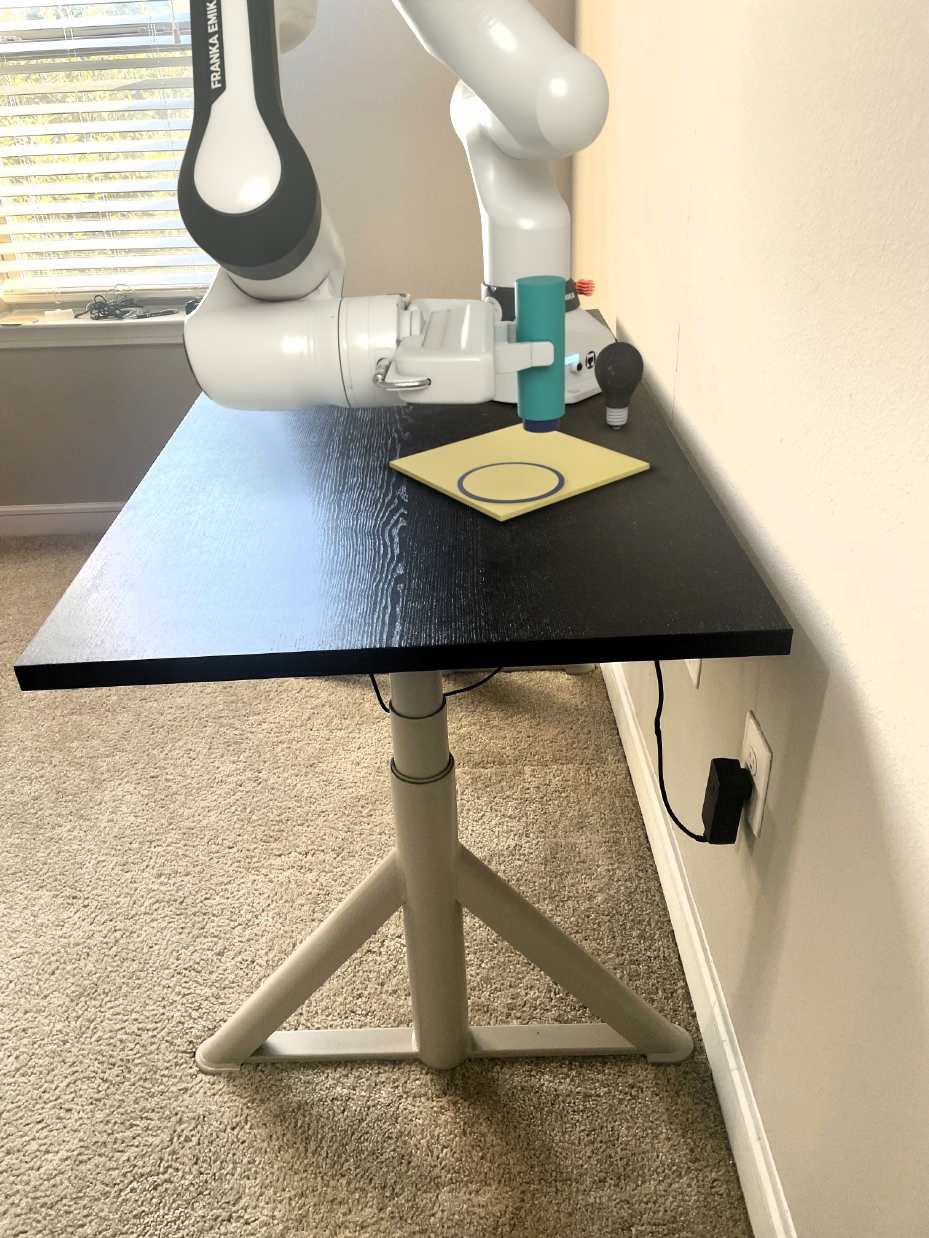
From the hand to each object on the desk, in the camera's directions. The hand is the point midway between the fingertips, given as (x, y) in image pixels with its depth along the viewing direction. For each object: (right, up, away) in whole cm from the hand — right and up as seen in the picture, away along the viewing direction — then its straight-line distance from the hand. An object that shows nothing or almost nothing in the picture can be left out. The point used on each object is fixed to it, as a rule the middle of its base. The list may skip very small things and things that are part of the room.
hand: (551, 343), depth 71 cm
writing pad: (-1, -6, +23) cm, 24 cm away
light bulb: (+11, 0, +32) cm, 34 cm away
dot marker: (0, -6, +4) cm, 7 cm away
